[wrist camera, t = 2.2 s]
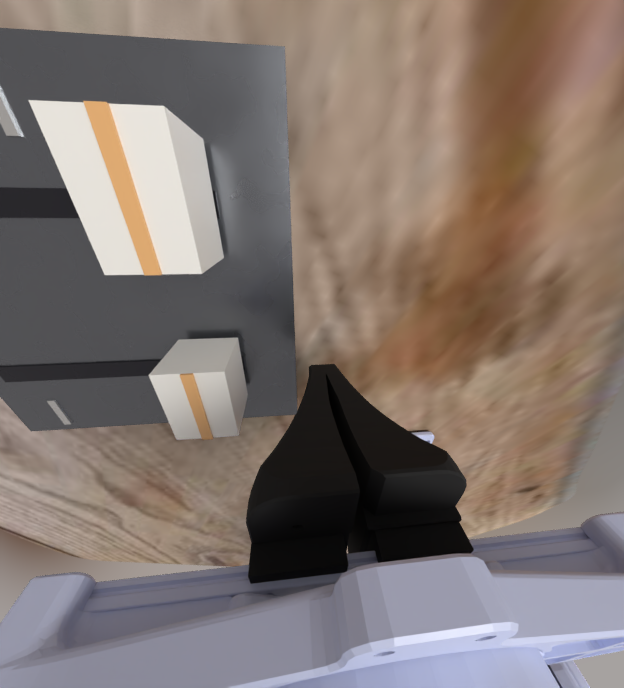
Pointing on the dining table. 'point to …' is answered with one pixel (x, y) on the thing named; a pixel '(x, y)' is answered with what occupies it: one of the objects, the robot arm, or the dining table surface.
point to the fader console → (141, 290)
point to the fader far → (202, 388)
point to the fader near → (135, 185)
